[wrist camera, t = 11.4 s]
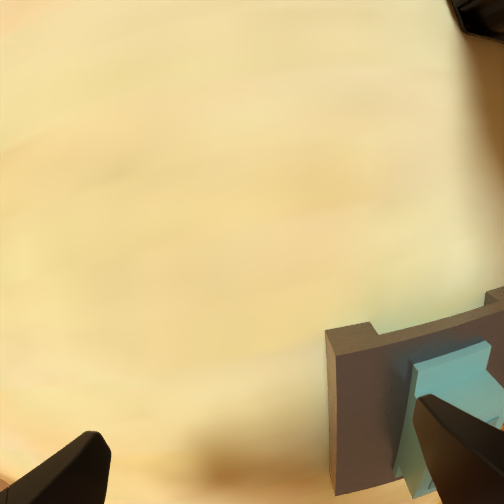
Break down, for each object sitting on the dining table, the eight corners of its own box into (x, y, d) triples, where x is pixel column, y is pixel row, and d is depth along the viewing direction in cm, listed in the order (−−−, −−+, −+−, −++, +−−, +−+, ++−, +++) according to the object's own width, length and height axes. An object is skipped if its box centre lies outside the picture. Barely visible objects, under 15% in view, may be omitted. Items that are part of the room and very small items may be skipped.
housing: (452, 449, 20) (472, 484, 16) (392, 471, 20) (408, 511, 16) (485, 340, 17) (523, 376, 13) (413, 364, 17) (445, 411, 13)
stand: (511, 283, 19) (534, 297, 16) (475, 425, 23) (488, 443, 20) (324, 330, 20) (335, 355, 17) (329, 471, 24) (335, 496, 21)
